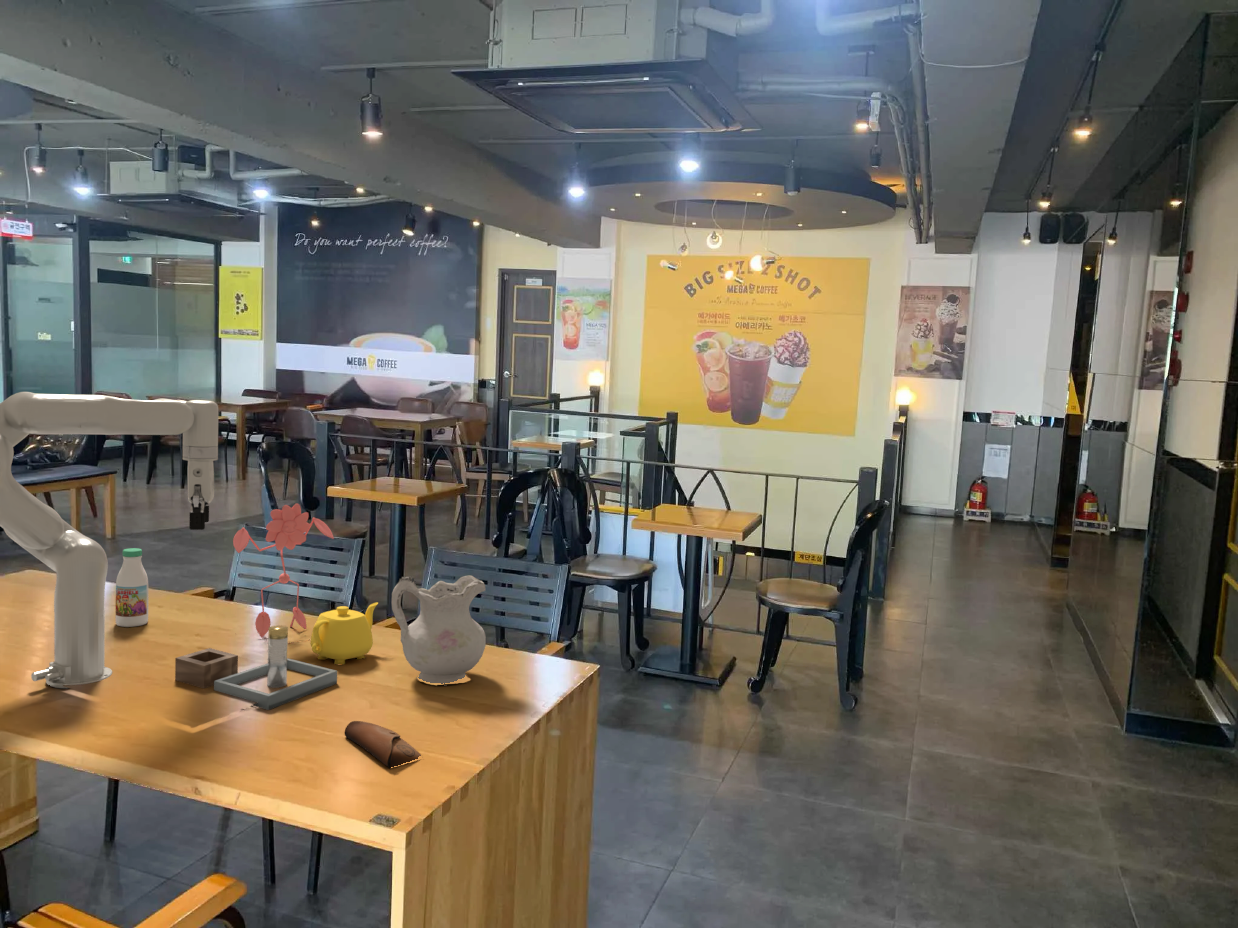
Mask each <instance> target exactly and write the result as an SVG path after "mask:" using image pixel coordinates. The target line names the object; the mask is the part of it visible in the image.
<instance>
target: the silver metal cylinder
mask: <svg viewBox="0 0 1238 928" xmlns="http://www.w3.org/2000/svg"><path fill="white" fill-rule="evenodd" d="M267 634H268V636H267V637H268V639H267V640H268V641H267V663H268V674H266V675H267V676H266V677H267V679H266V680H267V684H266V686H267V687H268V688H272V689H273V688H274V689H276V688H278V689H279V688H285V686H286V687H287V679H288V677H287V676H288V675H287V674H288V669H287V658H288V647H289V646H288V644H289V642H288V640H289V638H288V637H289V627H288V626H286V625H282V624H281V625H279V624H278V625H272V626H271V625H270V627H269V630H268V632H267Z"/></svg>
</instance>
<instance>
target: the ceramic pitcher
mask: <svg viewBox="0 0 1238 928" xmlns="http://www.w3.org/2000/svg"><path fill="white" fill-rule="evenodd" d="M415 579H416V577H415V576H413V575H410V576H401V578H399V580H398V582H397V583H396V585H395V586H394V588H393V590H392V592H391V610H392V612H393V615H394V619H395V621H396V623H397V624H398V626H399V627H400V642H401V645H402V651H403V655H404V657H405V660H406V662H407V663H408V664H409V665H410V667H412V668H413V669H415V670H416V671H418V672H420V673H419V674H418V675H419V677H418V678H419V679H422V680H423V681H426V682H430V683H441V684H443V683H444V684H445V683H450V682H454V681H457V680H458V679H462V678H464V677H465V675H467V674H466V672H469V671H472V669H474V667H476V665H477V664H478V663H479V662H480V660H481V659H482V657H483V654H484V652H485V650H486V646H487V645H486V644H487V643H486V636H487V635H486V632H485V630H484V628H483V627H482V625H480V624H479V623H478V622H477V621H476V620H474V619H473V618H472V616H471V613H470V606H471V603H472V601H473V600H474V599H475V597H477V595H478V594H481V593H483V592H486V584H485V582H483V580H480V579H479V578H477V577H474V576H473V575H464V576H461V577H460V578H458V579H457V580H456V581H455V582H454V583H451V582H445V581H444V580H439V581H437V582H436V583H435V584H434V585H432V586H431V587H430V588H428V589H426V588H423V587H421V588H418V587H417V585H416V583H415ZM405 592H408V593H409V592H410V593H411V594H413V595H414V597H416V598H417V599H418V601H419V604H420V605H419V606H420V607H419V608H420V611H419V615H418V616H417V617H416V619H415V620H414V621H412V622H411V623H410V624H408V623H407V620H406V616H405V614H404V613H405V612H404V610H403V609H402V606H401V603H402V596H403V594H404V593H405Z"/></svg>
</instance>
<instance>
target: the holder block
mask: <svg viewBox="0 0 1238 928" xmlns="http://www.w3.org/2000/svg"><path fill="white" fill-rule="evenodd" d="M238 660H239V655H238V654H235V653H230V652H226V651H223V650H218V649H215V648H211V647H208V648H205V649H202V650H199V651H195V652H191V653H188V654H185V655H181V656H178V657H175V667H174V669H175V670H174V671H175V673H174V674H175V676H174V679H175V681H176V682H180V683H183V684H186V685H190V686H195V687H197V688H201V689H207V688H209V687H212V686H213V687H214V681H215V680H218V679H222V678H225V677H228V676H231V675H234V674H237V673H239V672H238V671H239V670H238V667H239V661H238Z"/></svg>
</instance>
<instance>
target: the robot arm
mask: <svg viewBox="0 0 1238 928" xmlns="http://www.w3.org/2000/svg"><path fill="white" fill-rule="evenodd" d="M28 435H108V436H113V435H114V436H116V435H119V436H120V435H135V436H137V435H142V436H145V435H147V436H148V435H150V436H151V435H152V436H159V435H160V436H174V435H175V436H176V435H182V460H183V461H187V498H188V499H187V502H189V503H190V507H189V509H190V510H189V511H190V512H189V528H188V529H189V530H190V531H191V530H193V531H197V530H201V531H202V530H203V531H204V530H205V529H206V523H208V522H209V521H210V505H209V504H211V502H212V501H213V500H214V498H215V475H214V474H215V472H214V471H215V470H214V461H218V460H219V405H218V403H217V402H215V401H213V400H204V399H201V400H200V399H194V400H192V399H191V400H176V399H170V398H162V397H161V398H155V399H152V400H143V399H142V400H141V399H128V398H119V397H117V396H116V397H115V396H110V395H101V394H64V393H61V394H59V393H35V392H30V391H20V392H16V393H14V394H11V395H10V396H9V397H7V398H6V399H5V400H3V401H2V402H0V527H1V528H2V529H3V531H4V532H5V534H6V536H7V537H8V538H9V539H11V540H12V541H14V543H16V544H17V545H19V546H20V547H21V548H22V549H24V550H25V551H27V552H28V553H29V554H30V555H32V556H33V557H35V558H36V559H37V560H39V561H40V562H42V563H43V564H44V565H46V567H48V568H49V569H51V570H52V571H54V572H55V573H56V579H55V581H56V582H55V588H54V597H53V598H54V599H53V612H54V616H53V617H54V621H53V623H54V626H53V627H54V633H53V634H54V643H53V644H54V655H53V656H54V661H51V662H49V666H48V667H46V668H45V669H43V670H38V671H34V672H32V673H31V675H30V677H31V680H32V681H33V682H38V681H41V680H44V679H45V682H46V683H45V684H47V685H48V686H49V685H50V687H53V688H55V689H68V687H66V686H78V685H79V686H80V685H87V684H91V683H97V682H100V681H103V680H106V679H108V678H110V677H111V675H112V674H113V670H112V669H111V668H110V667H106V666H105V611H106V610H105V609H106V608H105V592H106V591H105V590H106V581H107V575H108V566H109V564H108V557H107V553H106V551H105V549H104V547H102V545H101V544H100V543H98V542H97V541H96V540H95V539H92V538H91V537H88V536H86V535H84V534H83V533H81V532H80V531H78V530H77V529H75V527H73V526H71V524H69V522H67V521H65V520H64V519H63V518H62V517H61V515H60V514H59V513H58V512H57V511H56V510H55V509H54V508H52V507H51V506H49V505H48V504H46V503H44V502H43V501H41V500H40V499H39V498H38V497H36V496H35V495H33V494H32V493H31V492H30V491H28V490H27V488H26V487H24V486H23V485H22V484H20V483H19V482H18V481H17V480H16V479H15V477H14V476H13V474H12V463H13V459H14V453H15V451H14V447H15V446H16V445H18V444H19V443H20V442H22V441H23V440H24V439H26V437H28Z"/></svg>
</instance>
